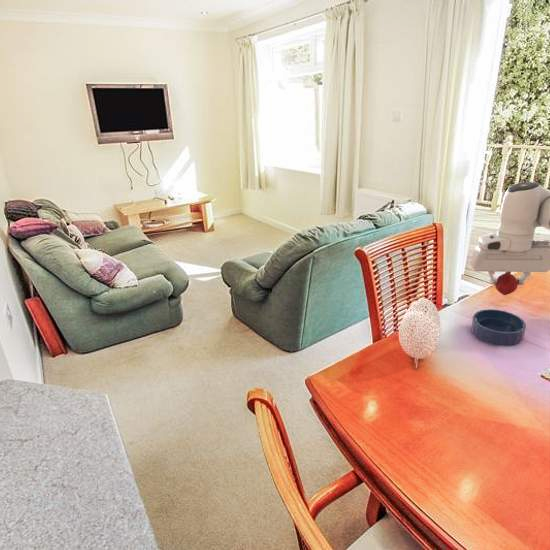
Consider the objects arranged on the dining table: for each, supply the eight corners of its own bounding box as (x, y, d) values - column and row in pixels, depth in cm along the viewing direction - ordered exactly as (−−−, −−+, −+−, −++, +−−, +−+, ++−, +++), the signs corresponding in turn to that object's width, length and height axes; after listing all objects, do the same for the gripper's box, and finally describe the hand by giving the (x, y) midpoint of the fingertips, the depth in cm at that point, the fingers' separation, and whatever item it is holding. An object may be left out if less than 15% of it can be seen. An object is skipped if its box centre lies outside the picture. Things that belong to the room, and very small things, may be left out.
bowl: (514, 323, 123) (517, 310, 121) (529, 349, 110) (532, 334, 108) (467, 321, 126) (469, 308, 124) (476, 345, 114) (478, 331, 112)
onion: (513, 301, 110) (517, 276, 107) (491, 296, 114) (494, 272, 111) (517, 293, 114) (521, 269, 111) (496, 289, 118) (500, 265, 115)
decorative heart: (430, 381, 101) (436, 327, 94) (390, 370, 106) (393, 318, 99) (440, 345, 115) (446, 296, 108) (405, 337, 120) (408, 290, 113)
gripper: (551, 236, 107) (541, 280, 113) (472, 237, 112) (467, 278, 118) (560, 244, 102) (550, 289, 107) (477, 244, 107) (471, 287, 112)
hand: (506, 283), depth 113 cm, fingers closed on onion, 6 cm apart
